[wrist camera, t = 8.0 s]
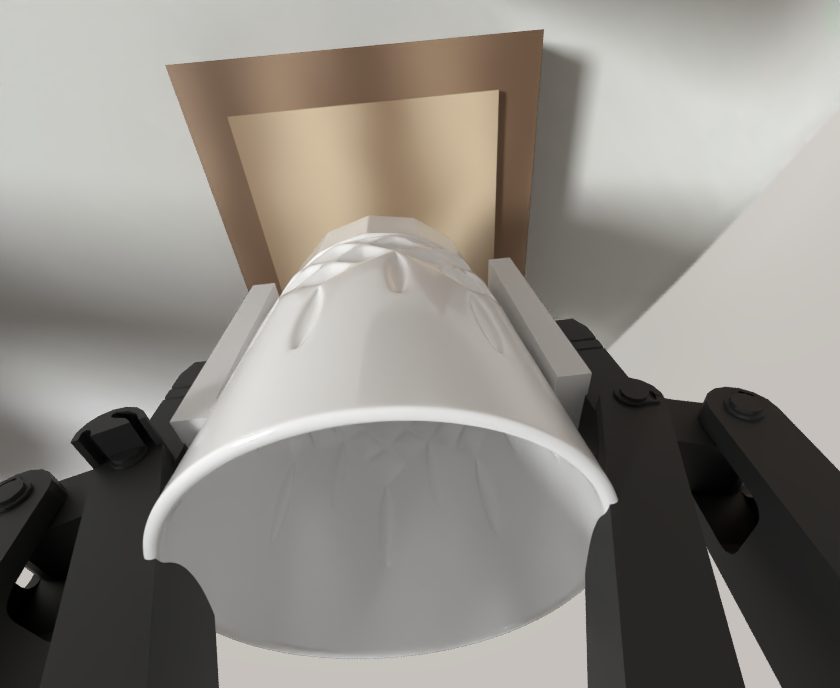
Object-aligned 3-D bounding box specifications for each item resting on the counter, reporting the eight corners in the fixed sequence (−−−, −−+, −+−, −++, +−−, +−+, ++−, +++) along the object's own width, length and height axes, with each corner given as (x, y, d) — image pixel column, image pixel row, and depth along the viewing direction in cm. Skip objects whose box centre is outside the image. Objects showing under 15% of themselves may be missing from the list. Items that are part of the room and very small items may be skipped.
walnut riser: (288, 333, 29) (274, 371, 25) (201, 67, 20) (159, 64, 16) (503, 308, 29) (521, 342, 25) (516, 37, 20) (548, 28, 16)
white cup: (493, 364, 17) (594, 630, 9) (317, 393, 17) (258, 680, 9) (484, 176, 13) (671, 360, 4) (247, 216, 13) (4, 468, 5)
